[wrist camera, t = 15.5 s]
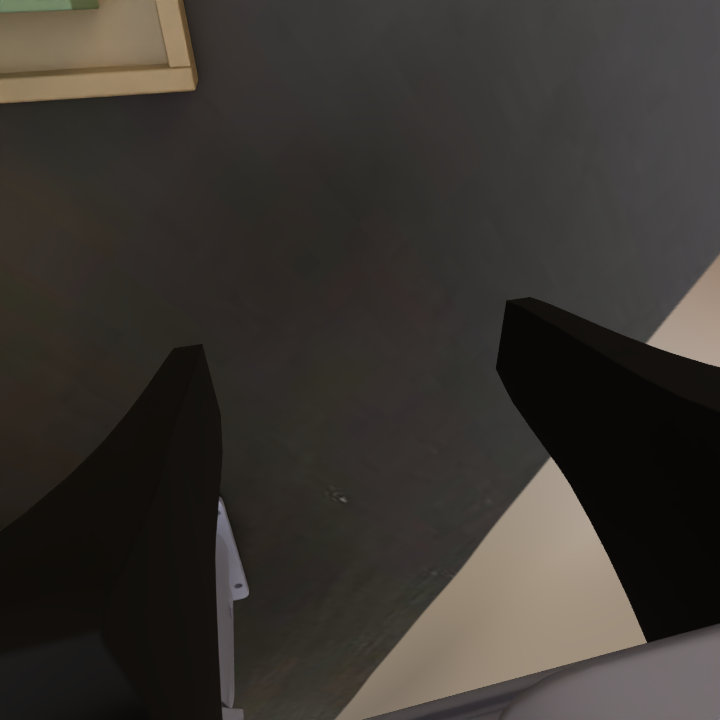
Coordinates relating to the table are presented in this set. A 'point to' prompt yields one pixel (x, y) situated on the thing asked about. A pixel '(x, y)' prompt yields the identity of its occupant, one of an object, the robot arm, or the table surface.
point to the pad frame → (96, 52)
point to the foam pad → (46, 5)
